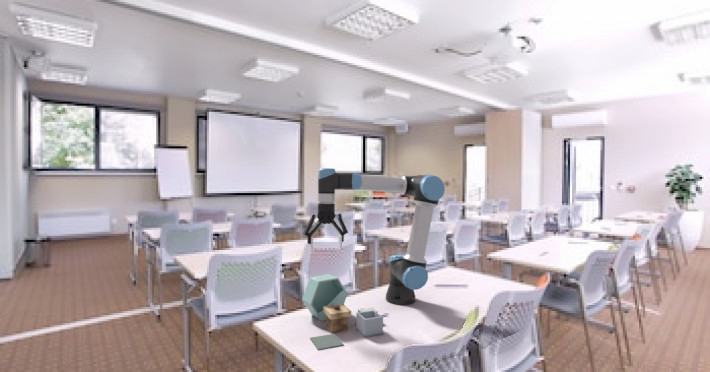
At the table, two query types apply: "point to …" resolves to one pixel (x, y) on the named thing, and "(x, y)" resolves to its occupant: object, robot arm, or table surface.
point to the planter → (323, 294)
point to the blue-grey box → (369, 323)
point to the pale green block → (367, 309)
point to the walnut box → (337, 324)
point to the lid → (337, 311)
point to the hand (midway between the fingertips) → (325, 250)
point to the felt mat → (326, 341)
